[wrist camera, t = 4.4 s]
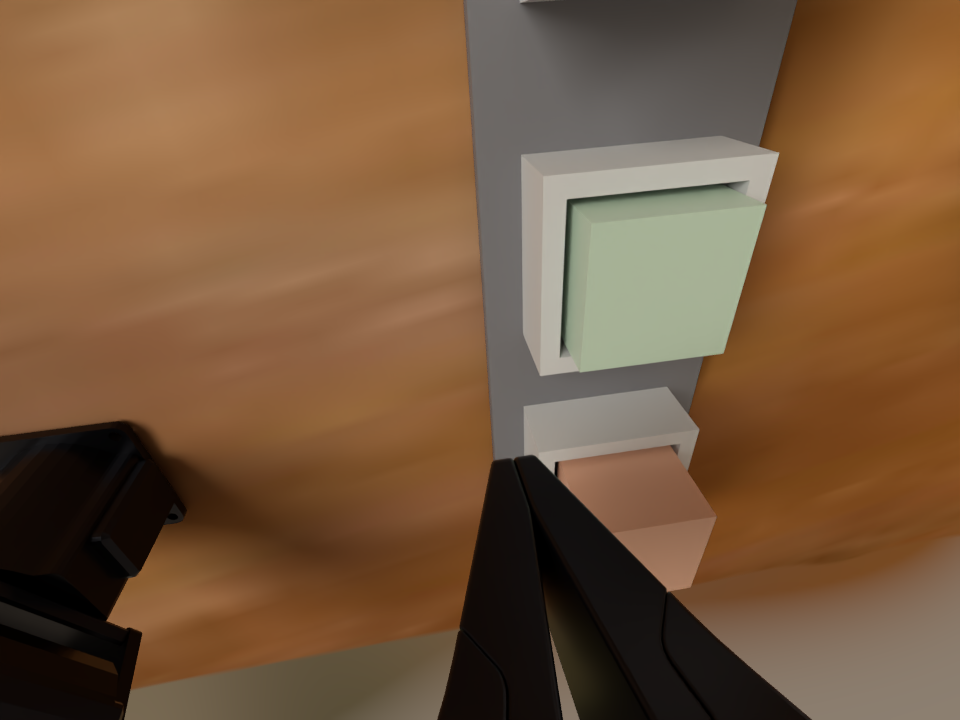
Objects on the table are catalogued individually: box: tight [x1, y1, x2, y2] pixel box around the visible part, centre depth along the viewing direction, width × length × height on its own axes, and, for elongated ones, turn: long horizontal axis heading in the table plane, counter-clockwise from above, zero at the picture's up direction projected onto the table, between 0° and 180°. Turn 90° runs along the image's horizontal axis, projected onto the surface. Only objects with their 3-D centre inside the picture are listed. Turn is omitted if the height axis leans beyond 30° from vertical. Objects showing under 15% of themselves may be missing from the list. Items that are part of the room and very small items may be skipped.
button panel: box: [464, 0, 797, 477], centre depth 17 cm, size 10×29×4 cm, turn 4°
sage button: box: [561, 183, 767, 372], centre depth 16 cm, size 5×5×4 cm
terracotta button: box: [557, 445, 717, 591], centre depth 20 cm, size 5×5×4 cm
